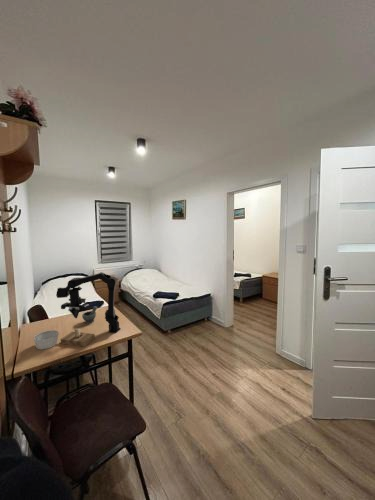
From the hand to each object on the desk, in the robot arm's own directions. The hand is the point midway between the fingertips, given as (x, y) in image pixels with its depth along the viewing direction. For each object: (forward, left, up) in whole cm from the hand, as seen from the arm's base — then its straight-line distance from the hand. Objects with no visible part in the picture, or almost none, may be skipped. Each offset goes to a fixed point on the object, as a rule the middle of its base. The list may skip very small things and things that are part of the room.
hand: (76, 318), depth 145 cm
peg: (-6, +7, -12) cm, 15 cm away
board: (-6, +7, -12) cm, 15 cm away
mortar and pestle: (+4, -19, -12) cm, 23 cm away
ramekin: (+10, +15, -13) cm, 22 cm away
